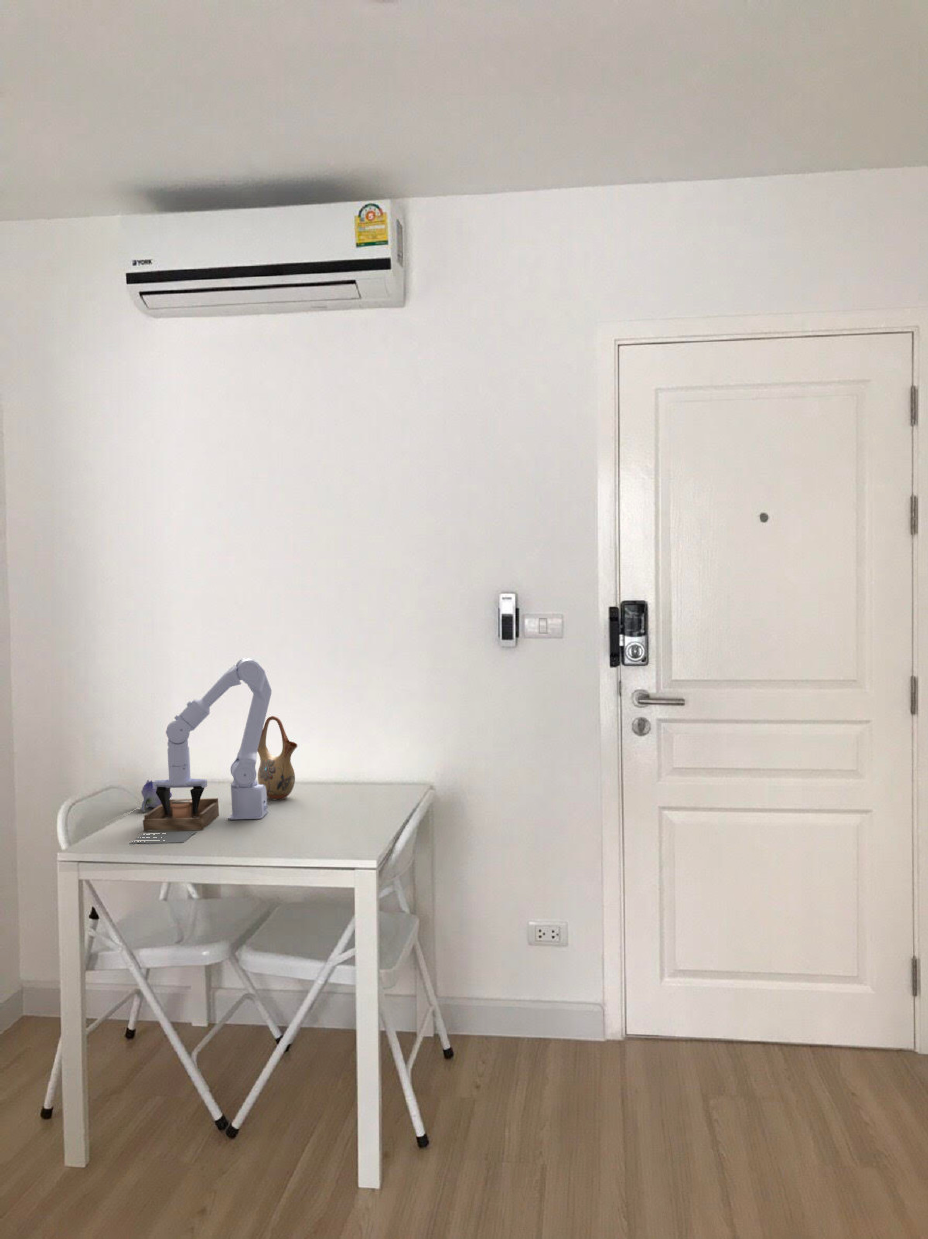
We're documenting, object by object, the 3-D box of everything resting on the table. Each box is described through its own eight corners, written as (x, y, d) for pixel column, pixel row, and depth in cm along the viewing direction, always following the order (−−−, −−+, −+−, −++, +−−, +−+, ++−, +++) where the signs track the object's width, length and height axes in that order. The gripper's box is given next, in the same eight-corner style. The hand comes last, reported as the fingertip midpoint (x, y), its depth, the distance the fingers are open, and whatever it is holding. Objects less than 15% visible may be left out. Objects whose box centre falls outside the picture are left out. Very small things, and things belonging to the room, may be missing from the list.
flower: (152, 792, 287) (160, 771, 296) (127, 804, 289) (136, 782, 297) (171, 814, 291) (179, 792, 300) (147, 826, 293) (155, 804, 301)
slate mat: (195, 832, 266) (195, 831, 266) (183, 842, 256) (183, 842, 256) (143, 833, 267) (143, 832, 267) (129, 844, 257) (129, 843, 257)
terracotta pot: (195, 820, 279) (194, 798, 279) (189, 825, 274) (188, 803, 273) (175, 820, 280) (174, 799, 279) (168, 826, 274) (167, 804, 274)
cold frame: (218, 815, 284) (218, 798, 283) (202, 829, 269) (201, 811, 269) (163, 817, 285) (162, 799, 284) (143, 831, 270) (142, 812, 269)
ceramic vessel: (308, 797, 303) (304, 714, 301) (289, 804, 295) (285, 719, 293) (265, 793, 310) (261, 712, 309) (246, 799, 303) (241, 717, 301)
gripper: (209, 761, 279) (211, 809, 280) (158, 762, 280) (160, 810, 281) (201, 766, 272) (204, 816, 273) (149, 767, 273) (151, 817, 274)
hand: (181, 813), depth 277 cm, fingers open, 7 cm apart
